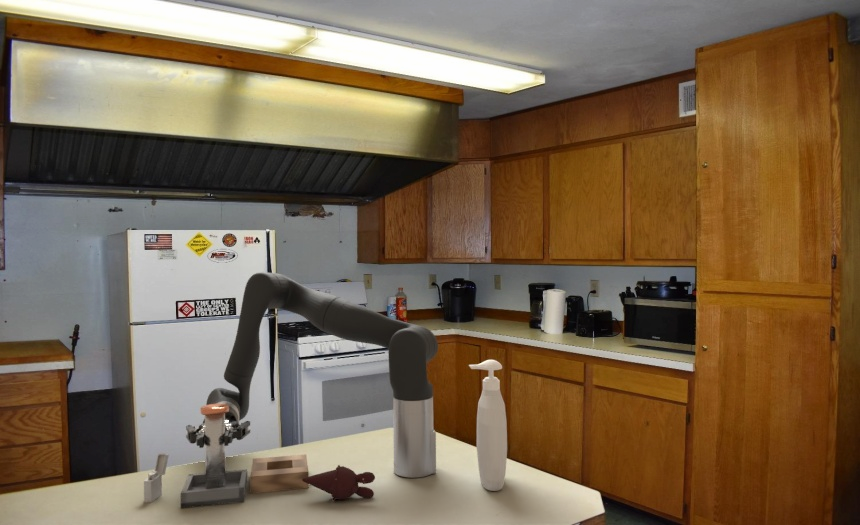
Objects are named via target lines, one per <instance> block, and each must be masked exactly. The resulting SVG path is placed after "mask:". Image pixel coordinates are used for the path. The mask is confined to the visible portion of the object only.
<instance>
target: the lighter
mask: <svg viewBox="0 0 860 525" xmlns="http://www.w3.org/2000/svg"><path fill="white" fill-rule="evenodd" d="M168 460H169V454H167V453H158V454H157V457H156V461H155V467H154V471H151V472H150V473H148V476H147V478H146V479H144V480H143V502H144V503H152V502H154V501H156V500H157V499H159V497H161V496H162V495H163V490H162V489H163V485H162V480H163V479H162V476H165V474H166V471H167V470H166V469H167V465H168Z"/></svg>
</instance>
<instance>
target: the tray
mask: <svg viewBox="0 0 860 525" xmlns="http://www.w3.org/2000/svg"><path fill="white" fill-rule="evenodd" d="M247 487H248V469H247V468H246V469H245V468H244V469H234V470H226V487H223V488H212V489H206V479H205V472H200V473H189V474H188V475H187V478H186V480H185V483H184V485H183V487H182V489H181V491H180V509H187V508H198V507H208V506H218V505H227V504H228V505H229V504H238V503H239V504H240V503H244V502H245V499H246V493H247V492H246V491H247Z"/></svg>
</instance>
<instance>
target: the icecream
mask: <svg viewBox="0 0 860 525" xmlns="http://www.w3.org/2000/svg"><path fill="white" fill-rule="evenodd" d="M308 476H309V477H305V478H303V479H302V481H303V482H305V483H308V484H309V486H312V487H314V488H316V489H318V490H320V491H323V492H324V493H327V494H329V495H331V497H332V499H331V500H332V501H333V502H335V501H336V499H337V500H346V499H349V498H351V497H352V496H353V495H357V496H359V497H360V498H361V497H362V498H364V499H371V498H373V497H374V495H375V492H374V491H373V489H371V488H369V487H367V486H359V484H363V485H366V484H370V483H371V484H372V483H373V482H374V481H375V479H376V476H375V474H374V472H370V471H365V472H363V473H358V474H357V473H355V471H354V470H352V469H350V468H349V467H346V466H341V465H340V464H338V465H337V466H336V468H335V469H333V470H329V471H325V472H320V473H317V474H313V475H308Z"/></svg>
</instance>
